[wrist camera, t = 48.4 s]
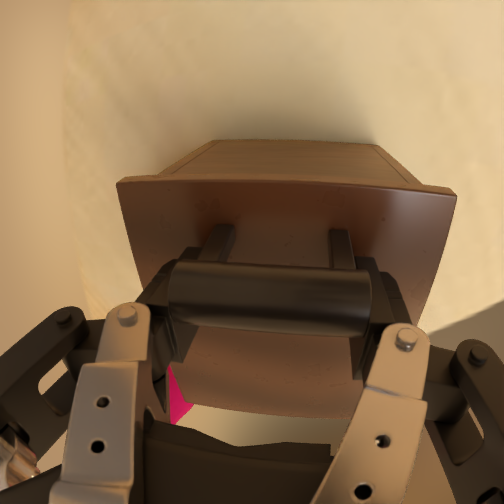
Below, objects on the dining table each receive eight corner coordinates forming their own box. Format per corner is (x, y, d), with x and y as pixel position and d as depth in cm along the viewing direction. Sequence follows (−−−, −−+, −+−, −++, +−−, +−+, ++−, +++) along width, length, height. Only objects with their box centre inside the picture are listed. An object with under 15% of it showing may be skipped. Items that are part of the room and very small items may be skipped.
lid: (124, 175, 11) (41, 240, 7) (450, 187, 9) (520, 266, 5) (187, 393, 20) (166, 455, 16) (369, 409, 18) (371, 476, 14)
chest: (211, 140, 22) (136, 188, 13) (379, 145, 20) (439, 199, 11) (225, 295, 30) (188, 392, 20) (357, 303, 28) (369, 408, 18)
